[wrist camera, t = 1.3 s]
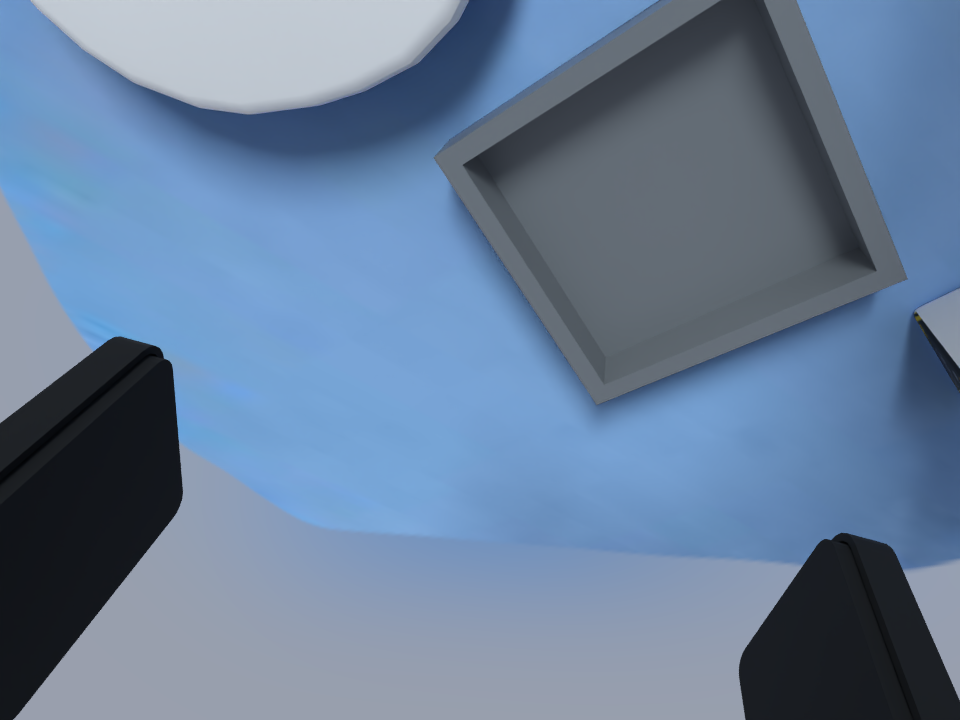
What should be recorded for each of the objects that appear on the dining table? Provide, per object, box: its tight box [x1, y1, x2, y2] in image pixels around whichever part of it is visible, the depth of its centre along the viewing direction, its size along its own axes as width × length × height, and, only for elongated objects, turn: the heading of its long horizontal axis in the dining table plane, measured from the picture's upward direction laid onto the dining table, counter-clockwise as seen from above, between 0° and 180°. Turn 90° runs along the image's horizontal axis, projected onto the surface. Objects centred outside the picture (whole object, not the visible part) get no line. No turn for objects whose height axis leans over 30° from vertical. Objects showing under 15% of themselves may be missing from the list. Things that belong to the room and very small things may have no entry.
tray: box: [434, 0, 907, 405], centre depth 33 cm, size 16×16×4 cm
